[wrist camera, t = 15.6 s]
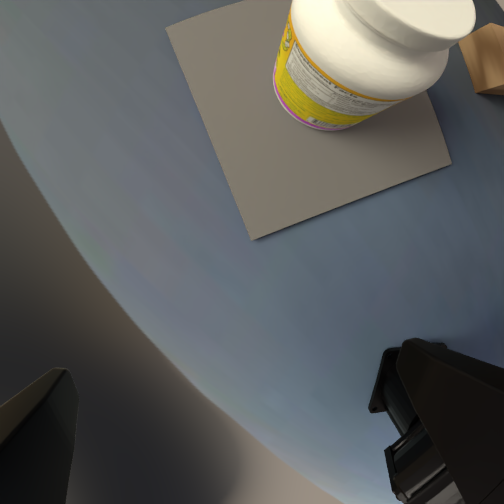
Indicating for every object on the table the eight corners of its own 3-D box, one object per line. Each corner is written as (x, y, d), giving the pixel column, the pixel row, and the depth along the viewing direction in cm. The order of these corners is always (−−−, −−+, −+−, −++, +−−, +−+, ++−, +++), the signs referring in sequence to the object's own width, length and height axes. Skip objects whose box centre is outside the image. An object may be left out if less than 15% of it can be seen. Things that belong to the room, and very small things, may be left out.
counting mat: (447, 164, 20) (451, 163, 19) (251, 239, 20) (251, 240, 20) (364, -15, 16) (367, -19, 16) (166, 31, 17) (165, 27, 17)
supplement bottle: (321, 27, 17) (393, -96, 4) (386, 97, 18) (519, 31, 5) (248, 78, 18) (260, -59, 5) (319, 153, 19) (438, 110, 6)
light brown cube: (506, 95, 18) (542, 87, 14) (474, 93, 18) (512, 81, 14) (490, 47, 17) (523, 34, 12) (457, 41, 17) (490, 22, 13)
